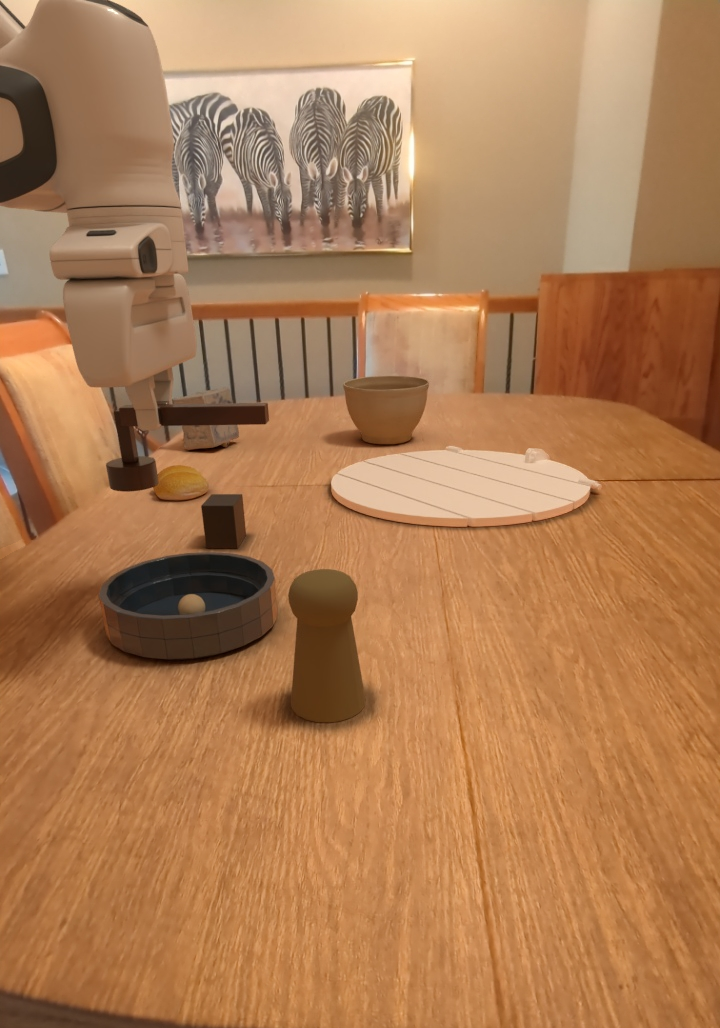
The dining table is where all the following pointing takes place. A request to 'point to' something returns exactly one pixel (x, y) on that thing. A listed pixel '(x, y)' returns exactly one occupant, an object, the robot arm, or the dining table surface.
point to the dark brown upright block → (224, 521)
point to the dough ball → (191, 605)
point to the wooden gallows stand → (142, 470)
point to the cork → (325, 647)
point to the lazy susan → (462, 487)
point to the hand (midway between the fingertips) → (156, 425)
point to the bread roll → (180, 483)
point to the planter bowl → (386, 406)
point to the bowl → (168, 635)
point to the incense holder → (207, 433)
